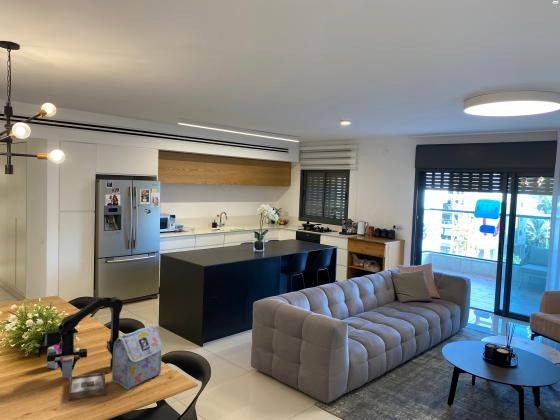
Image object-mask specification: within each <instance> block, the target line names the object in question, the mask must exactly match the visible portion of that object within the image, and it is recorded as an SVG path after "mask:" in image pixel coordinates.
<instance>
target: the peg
mask: <svg viewBox="0 0 560 420" xmlns="http://www.w3.org/2000/svg"><path fill="white" fill-rule="evenodd" d="M72 365H73V358H65V359H64V358H63V362H62V371H61V376H62V377H61V379H65V378H71V377H73V370H72Z"/></svg>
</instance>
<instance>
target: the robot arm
mask: <svg viewBox="0 0 560 420" xmlns="http://www.w3.org/2000/svg"><path fill="white" fill-rule="evenodd" d="M123 303H124V302H123V300H121V298H119V297H117V296H112V297H106V296H105V297H102V296H99V297H97V298H96V299H95V300H93V301H92V302H90V303H89V304H87V305H86V306H84V307H83V308H82V309H80V310H78V311H77V312H75V313H72V314H70V315H68V316H65V317H64V318H62V320H61V321H60V325H59V326H58V327H57V328H56V330H54V331H46V332H45V336H44V345H45V347H50V346H53V345H59V349H62V353H61V354H56V352H50V353H48V355H46V363H47V362H51V361H54V360H55V361H54V362H57V364H58V365H59V368H60V369H59V370H60V371H61V372H62V357H63V358H67V357H68V358H69V357H73V358H72V371H73V370H75V369H74V368H75V365H76V364H77V362H78V361H79V360H80V359H83V358H87V357H88V349H87V348H80V349H78V351H75V344H74V343H75V334H77V333H79V331H78V329H76V327H77V326H78V325H79V323H80V322H81V321H82V320H83V319H85V318H86V317H88V316H89V315H91V314H92V313H93V312H95V311H96V310H98V309H100V308H101V307H106V308H109V310H110V313H111V314H110V315H111V316H110V338H109V341H108V340H106V347H105V348H106V349H107V351H108V352H109V354H110V355H111V358H110V366H109V367H110V369H111V370H112V367H113V347H114V343H115V342H116V340H117V339H118V338H120V318H121V317H120V316H121V312H122V310H123V306H124V304H123Z"/></svg>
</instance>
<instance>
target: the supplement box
mask: <svg viewBox="0 0 560 420" xmlns="http://www.w3.org/2000/svg"><path fill="white" fill-rule="evenodd" d="M50 352H56V354H61V353H62V349H59V344H55V345H50V346H48V348H47V353H46V354H47V355H48V353H50ZM47 355H46V356H47ZM63 359H64V357H62V362H63ZM54 361H55V360H54ZM54 361H51V362H47V361H46V369H48V370H54V371H55V370H57V369H58V368H60V367H59V365H58V364H57V362H54Z"/></svg>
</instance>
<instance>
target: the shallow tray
mask: <svg viewBox="0 0 560 420" xmlns="http://www.w3.org/2000/svg"><path fill="white" fill-rule="evenodd" d="M68 391H69V392H68V401H76V400H83V399H89V398H97V397H103V396H106V373H105V372H98V373H90V374H82V375H75V376H74V375H72V377H70V382H69V390H68Z"/></svg>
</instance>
